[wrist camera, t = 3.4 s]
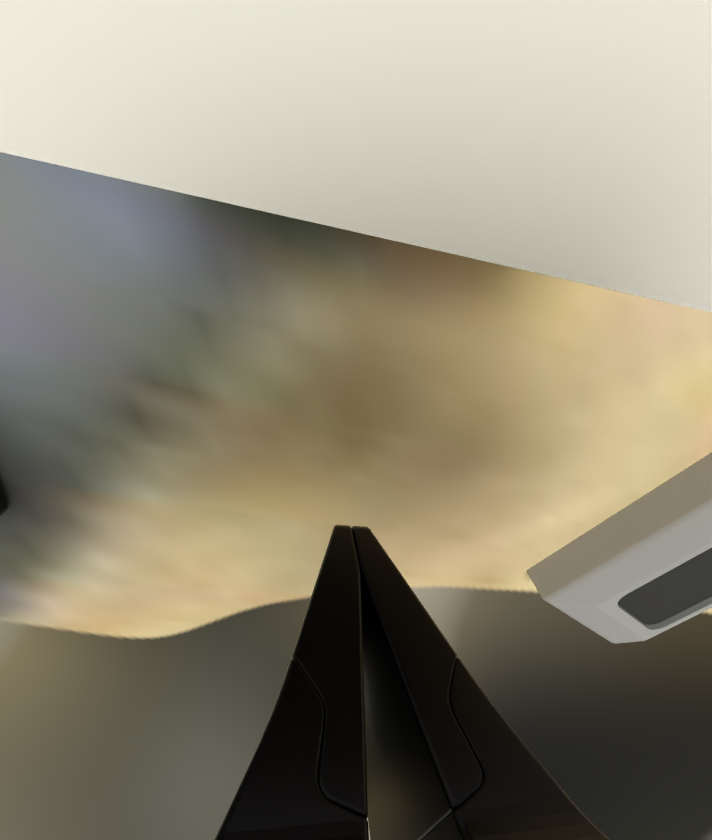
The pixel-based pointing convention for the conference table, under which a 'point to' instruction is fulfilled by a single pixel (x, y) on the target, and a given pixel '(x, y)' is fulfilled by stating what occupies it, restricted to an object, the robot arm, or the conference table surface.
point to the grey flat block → (639, 563)
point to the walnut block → (397, 120)
